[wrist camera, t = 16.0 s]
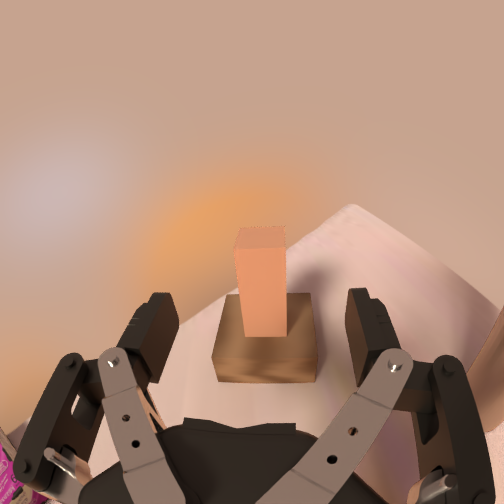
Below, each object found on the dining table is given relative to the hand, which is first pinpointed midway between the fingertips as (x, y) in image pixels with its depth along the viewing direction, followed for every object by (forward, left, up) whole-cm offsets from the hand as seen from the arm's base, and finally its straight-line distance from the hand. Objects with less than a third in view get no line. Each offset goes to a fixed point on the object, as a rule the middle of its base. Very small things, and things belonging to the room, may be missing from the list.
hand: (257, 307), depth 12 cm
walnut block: (+1, -17, -22) cm, 28 cm away
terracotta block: (+1, -17, -17) cm, 24 cm away
